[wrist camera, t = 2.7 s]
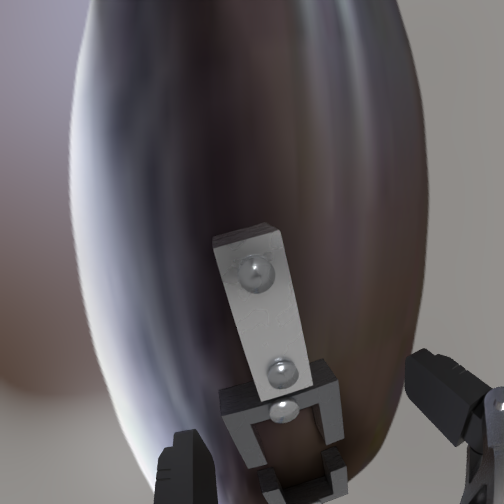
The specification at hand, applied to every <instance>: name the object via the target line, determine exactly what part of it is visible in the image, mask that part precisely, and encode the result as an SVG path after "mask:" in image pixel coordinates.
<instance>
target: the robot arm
mask: <svg viewBox="0 0 504 504" xmlns="http://www.w3.org/2000/svg"><path fill="white" fill-rule="evenodd" d="M405 391H406V394H407V395H408V397H409V399H410V400H411V401H412V402H413V403H414V404H415V405H416V406H417V407H418V408H419V409H420V410H421V411H422V413H423V414H424V415H425V416H426V417H427V418H428V419H429V420H430V421H431V422H432V423H433V424H434V425H435V426H436V427H437V428H438V429H439V430H440V431H441V432H442V433H443V435H444V436H445V437H446V438H447V439H448V440H449V441H450V442H451V443H452V444H453V445H454V446H455V447H457V446H458V445H460V444H461V443H462V442H464V441H466V442H467V443H468V446H467V463H466V479H465V489H464V493H463V496H462V498H461V502H460V504H504V387H503V386H501V387H496V388H491V387H489V386H488V385H487V384H485V383H484V382H483V381H481V380H480V379H479V378H477V377H476V376H475V375H473V374H472V373H470V372H469V371H468V370H467V371H466V370H465V368H464V367H462V366H461V365H459V364H458V363H457V362H455V361H454V360H453V359H451V358H450V357H447V356H443V355H440V354H437V355H433V354H432V353H431V352H430V351H428V350H427V349H424V348H423V349H421V350H419V351H417V352H415V353H413V354H411V355H410V356H408V357H407V358H406V362H405ZM157 471H158V472H157V474H156V480H157V481H156V484H155V494H154V504H218V498H217V487H216V475H215V465H214V461H213V458H212V455H211V453H210V452H209V450H208V448H207V447H206V445H205V443H204V442H203V440H202V438H201V437H200V435H199V433H198V431H197V430H196V429H192V430H187V431H181V432H175V434H174V439H173V447H166V448H164V450H163V452H162V453H161V455H160V457H159V458H158V465H157Z"/></svg>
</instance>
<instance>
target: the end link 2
mask: <svg viewBox="0 0 504 504" xmlns="http://www.w3.org/2000/svg"><path fill="white" fill-rule="evenodd" d="M321 455H322V460H323V466H324V471H325V476H323V477H320V478H317V479H314V480H311V481H308V482H305V483H302V484H299V485H296V486H292V487H289V488H285V489H282V487H281V485H280V482H279V480H278V478H277V476H276V473H275V471H274V469H273V467H271V468H267V469H263V470H259V471H257V473H258V477H259V482H260V486H261V490H262V494H263V495H264V497H265V499H266V500H267V502H268V504H322V503H325V502H328V501H330V500H333V499H336V498H338V497H341V496H344V495H346V494H348V484H347V467H346V464H345V463H344V461H343V459H342V457H341V455H340V453H339V451H338V449H337V447H336V446H335V447H332V448H330V449H327V450H324V451H322V452H321Z"/></svg>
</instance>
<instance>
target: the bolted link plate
mask: <svg viewBox="0 0 504 504" xmlns="http://www.w3.org/2000/svg"><path fill="white" fill-rule="evenodd" d="M212 243H213V251H214V254H215V257H216V261H217V264H218V268H219V271H220V274H221V278H222V281H223V285H224V288H225V291H226V294H227V298H228V301H229V304H230V308H231V311H232V314H233V317H234V320H235V324H236V327H237V330H238V333H239V336H240V339H241V342H242V346H243V349H244V352H245V355H246V358H247V361H248V364H249V367H250V370H251V373H252V376H253V379H254V382H255V385H256V388H257V391H258V394H259V397H260V400H261V402H262V401H266V400H269V399H272V398H276V397H279V396H282V395H285V394H289V393H292V392H295V391H298V390H301V389H304V388H307V387H309V386H312V385H313V382H312V377H311V371H310V366H309V361H308V356H307V351H306V346H305V341H304V337H303V332H302V327H301V322H300V317H299V313H298V308H297V303H296V299H295V294H294V290H293V285H292V281H291V276H290V272H289V267H288V263H287V259H286V254H285V250H284V246H283V241H282V237H281V233H280V230H279V229H277V228H275V227H273V226H271V225H269V224H268V223H266V222H265V223H261V224H257V225H254V226H250V227H246V228H243V229H239V230H235V231H232V232H228V233H225V234H221V235H218V236H214V237H212Z"/></svg>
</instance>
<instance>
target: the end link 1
mask: <svg viewBox="0 0 504 504" xmlns="http://www.w3.org/2000/svg"><path fill="white" fill-rule="evenodd" d="M309 366H310V371H311V377H312V382H313V385H312V386H309V387H307V388H304V389H301V390H298V391H295V392H292V393H289V394H285V395H282V396H279V397H276V398H272V399H269V400H266V401H262V402H261V400H260V397H259V394H258V391H257V388H256V385H255V382H254V381H252V382H248V383H245V384H241V385H238V386H234V387H230V388H226V389H222V390H219V398H220V408H221V417H222V419H223V421H224V423H225V425H226V427H227V429H228V431H229V433H230V435H231V437H232V439H233V441H234V443H235V445H236V447H237V449H238V451H239V452H240V454H241V456H242V458H243V460H244V462H245V464H246V465H247V467H248V469H249V468H254V467H258V466H262V465H266V464H267V461H266V457H265V453H264V449H263V445H262V442H261V438H260V436H259V434H258V431H257V429H256V426H255V424H254V423H258V422H261V421H265V420H268V419H272V420H273V421H274V422H276V423H286V422H289V421H292V420H293V419H295V418H296V417H297V415H298V414H299V410H300V409H303V408H306V407H309V406H312V409H313V414H314V419H315V423H316V425H317V427H318V430H319V432H320V434H321V436H322V438H323V440H324V442H325V444H326V445H328V444H331V443H333V442H336V441H339V440H341V439H343V438H344V430H343V419H342V410H341V401H340V392H339V384H338V379H337V378H336V376H335V375H334V373H333V372H332V371H331V369H330V368H329V366H328V365H327V363H326V362H325V361H324V359H320V360H317V361H314V362H312V363H309Z"/></svg>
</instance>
